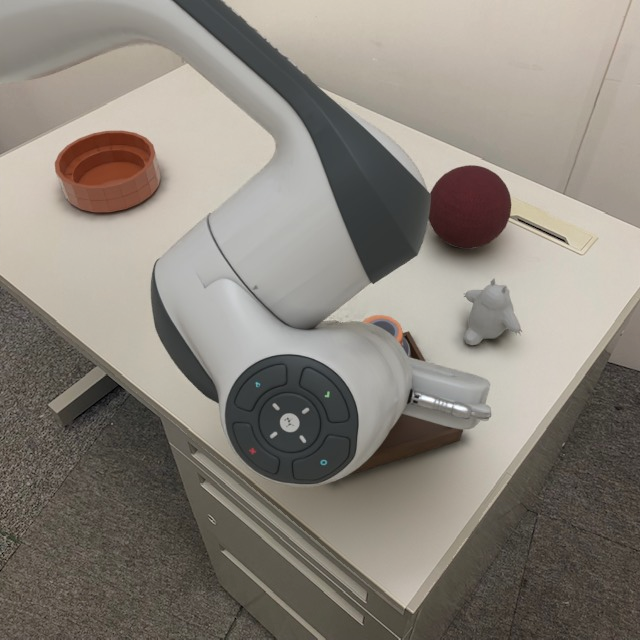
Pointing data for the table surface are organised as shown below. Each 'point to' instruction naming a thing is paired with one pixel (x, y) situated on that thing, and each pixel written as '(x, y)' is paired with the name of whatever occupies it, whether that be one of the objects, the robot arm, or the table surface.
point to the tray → (411, 432)
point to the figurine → (490, 313)
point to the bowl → (108, 171)
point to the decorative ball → (469, 206)
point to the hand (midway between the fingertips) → (379, 362)
